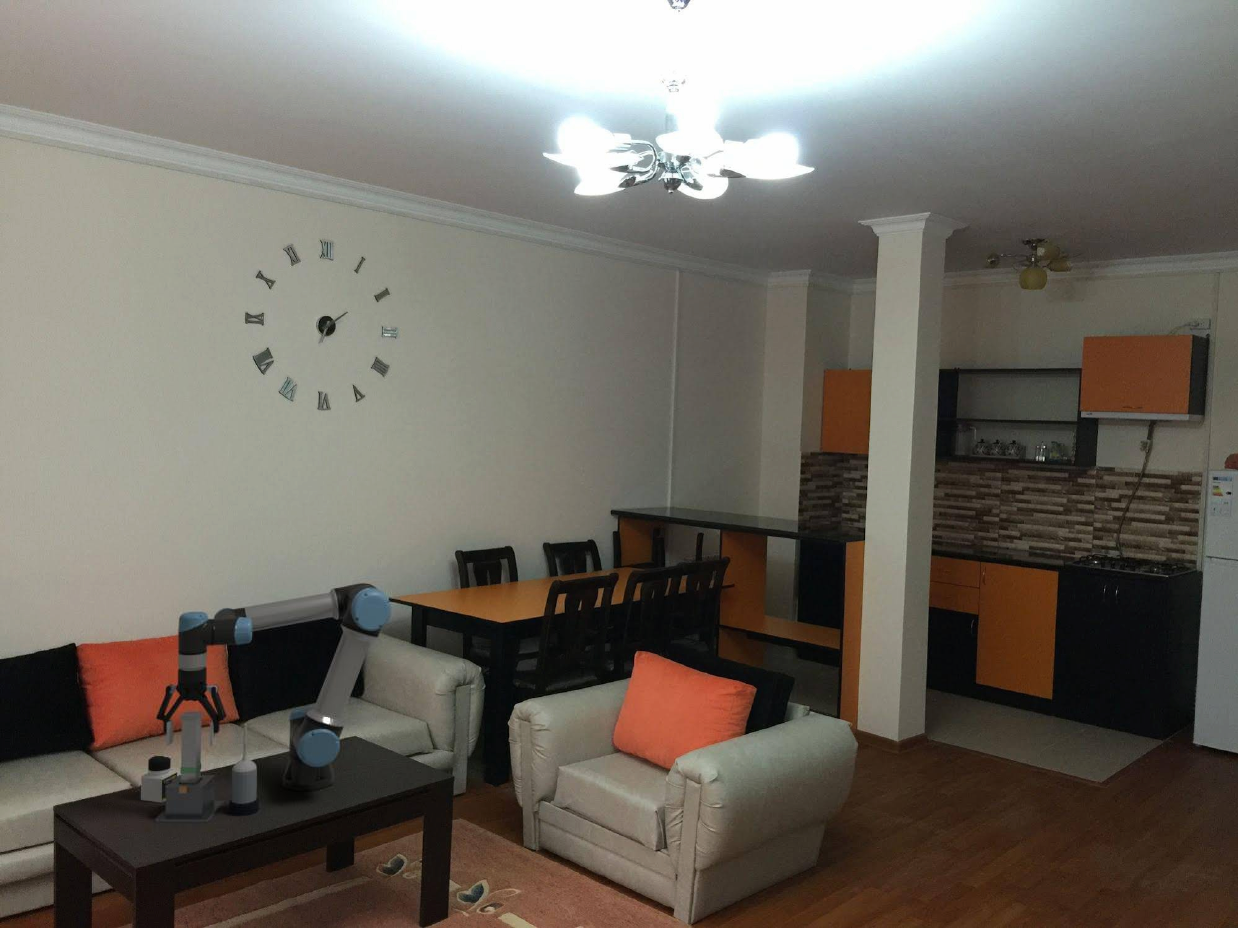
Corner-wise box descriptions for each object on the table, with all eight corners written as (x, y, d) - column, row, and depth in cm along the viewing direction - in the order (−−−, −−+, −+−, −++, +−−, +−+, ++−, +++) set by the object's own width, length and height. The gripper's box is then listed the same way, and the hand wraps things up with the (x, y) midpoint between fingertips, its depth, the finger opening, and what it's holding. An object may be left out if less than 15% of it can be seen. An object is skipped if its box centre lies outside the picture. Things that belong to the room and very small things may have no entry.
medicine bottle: (162, 802, 298) (162, 761, 297) (140, 800, 299) (140, 759, 299) (177, 794, 305) (178, 754, 304) (156, 791, 306) (156, 752, 306)
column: (201, 784, 293) (202, 711, 292) (196, 790, 289) (197, 716, 288) (185, 784, 293) (186, 711, 292) (179, 790, 288) (180, 715, 288)
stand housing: (223, 803, 299) (224, 771, 298) (207, 822, 285) (207, 788, 284) (174, 803, 298) (174, 771, 297) (155, 821, 284) (155, 788, 283)
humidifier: (260, 804, 299) (262, 719, 298) (256, 815, 291) (258, 727, 290) (231, 805, 297) (232, 720, 296) (226, 816, 289) (227, 728, 288)
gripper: (239, 664, 294) (238, 740, 295) (154, 663, 293) (153, 739, 293) (230, 671, 286) (229, 748, 287) (144, 669, 285) (143, 747, 286)
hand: (191, 744), depth 290 cm, fingers open, 11 cm apart
